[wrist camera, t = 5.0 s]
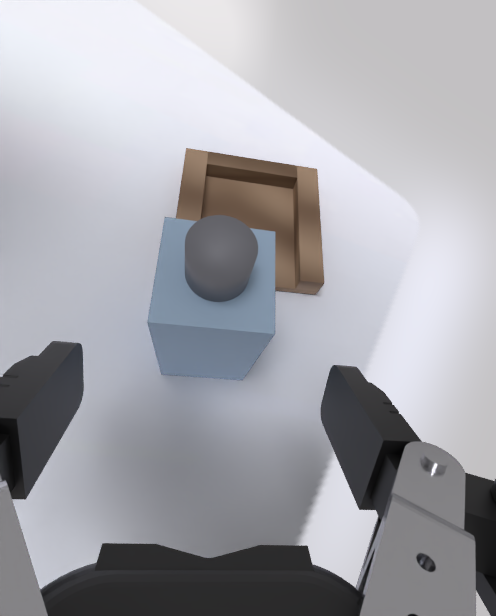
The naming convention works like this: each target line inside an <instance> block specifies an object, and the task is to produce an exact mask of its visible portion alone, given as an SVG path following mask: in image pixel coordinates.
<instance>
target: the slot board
mask: <svg viewBox="0 0 496 616" xmlns="http://www.w3.org/2000/svg"><path fill="white" fill-rule="evenodd" d="M213 215H225V216H230V217H233V218H236V219H238V220H240V221H242V222H243V223H244V224H246V225H247V226H248V227H249V228H252V229H259V230H267V231H275V290H277V291H286V292H295V293H304V294H314V295H315V294H316V293H317V292H318V291H319V289H320V288H321V287H322V286H323V284H324V273H323V257H322V240H321V224H320V207H319V191H318V175H317V169H314V168H308V167H301V166H295V165H289V164H282V163H276V162H270V161H264V160H257V159H251V158H245V157H239V156H232V155H226V154H220V153H213V152H207V151H201V150H195V149H188V148H186V154H185V160H184V167H183V174H182V181H181V187H180V194H179V201H178V207H177V214H176V219H184V220H191V221H198V220H200V219H202V218H205V217H208V216H213Z"/></svg>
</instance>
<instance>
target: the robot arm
mask: <svg viewBox="0 0 496 616" xmlns="http://www.w3.org/2000/svg"><path fill="white" fill-rule="evenodd" d="M83 388H84V384H83V350H82V345H81V344H80V343H72V342H60V341H53V342H51V343H50V344H49V345H48V346H47V347H46V348H45V349H44V351H43V352H42V353H41V354H40V355H39V356H29V357H27V358H25V359H23V360H21V361H19V362H17V363H15V364H14V365H13V366H12V367H11V368H10V369H9V370H7V371H6V372H5V373H4V374H3V377H0V616H476V590H477V592H478V594H479V596H480V598H481V599H482V601H483V603H484V605H485V606H486V608H487V610H488V611H489V613H490V615H491V616H496V479H495V481H492V480H488V479H485V478H481V477H478V476H474V475H471V474H468V473H465V471H464V469H463V467H462V466H461V464H460V463H459V462H458V461H457V460H456V459H455V458H454V457H453V456H452V455H450V454H449V453H448V452H446V451H444V450H443V449H441V448H439V447H437V446H435V445H432V444H429V443H425V442H422V441H421V440H420V439H419V437H418V436H417V435H416V434H415V432H414V431H413V430H412V428H411V427H410V426H409V424H408V423H407V422H406V421H405V419H404V418H403V417H402V415H401V414H399V411H398V410H397V409H396V408H395V406H394V405H392V402H391V401H390V400H389V398H388V397H387V396H386V394H385V393H384V392H383V391H381V390H380V389H379V388H377V387H376V386H375V385H373V384H372V383H368V382H367V380H366V379H365V378H364V376H363V375H362V373H361V372H360V371H359V369H358V368H357V367H352V366H340V365H334V366H332V368H331V370H330V373H329V377H328V380H327V384H326V388H325V392H324V396H323V400H322V404H321V420H322V423H323V426H324V428H325V430H326V433H327V435H328V437H329V440H330V442H331V445H332V447H333V449H334V452H335V454H336V456H337V459H338V461H339V463H340V466H341V468H342V470H343V473H344V475H345V477H346V480H347V482H348V484H349V487H350V489H351V491H352V494H353V496H354V498H355V501H356V503H357V505H358V508H359V509H360V510H376V511H377V514H378V519H377V522H376V524H375V527H374V531H373V534H372V537H371V540H370V543H369V547H368V550H367V553H366V556H365V560H364V563H363V566H362V570H361V573H360V576H359V579H358V582H357V585H356V588H355V587H354V586H352V585H351V584H350V583H348V582H347V581H345V580H343V579H342V578H341V577H339V576H337V575H336V574H334V573H332V572H330V571H328V570H326V569H323V568H321V567H318V566H316V565H312V562H311V558H310V554H309V550H308V546H283V545H259V546H255V547H252V548H248V549H244V550H240V551H237V552H233V553H229V554H226V555H222V556H218V557H214V558H204V557H200V556H196V555H193V554H189V553H186V552H182V551H179V550H175V549H172V548H168V547H165V546H161V545H158V544H109V543H103V544H102V547H101V550H100V554H99V557H98V560H97V563H94V564H90V565H87V566H84V567H82V568H79V569H76V570H74V571H72V572H69V573H67V574H65V575H63V576H61V577H59V578H58V579H56V580H54V581H53V582H51V583H50V584H48V585H46V586H45V587H43V588H42V589H41V590H40V588H39V585H38V582H37V579H36V576H35V572H34V569H33V566H32V563H31V559H30V556H29V553H28V550H27V546H26V543H25V540H24V537H23V533H22V530H21V527H20V524H19V520H18V517H17V514H16V511H15V508H14V504H13V501H12V499H26V498H27V496H28V494H29V493H30V491H31V489H32V488H33V486H34V484H35V482H36V481H37V479H38V477H39V475H40V474H41V472H42V470H43V469H44V467H45V465H46V463H47V462H48V460H49V458H50V456H51V455H52V453H53V451H54V450H55V448H56V446H57V444H58V443H59V441H60V439H61V437H62V436H63V434H64V432H65V431H66V429H67V427H68V425H69V424H70V422H71V420H72V418H73V417H74V415H75V413H76V412H77V410H78V408H79V406H80V403H81V400H82V396H83Z"/></svg>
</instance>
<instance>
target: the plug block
mask: <svg viewBox="0 0 496 616" xmlns="http://www.w3.org/2000/svg"><path fill="white" fill-rule="evenodd" d="M148 326H149V330H150V333H151V337H152V341H153V345H154V348H155V352H156V356H157V360H158V363H159V367H160V371H161V374H163V375H177V376H191V377H205V378H219V379H233V380H243V378H244V377H245V375H246V374H247V373H248V371H249V370H250V368H251V367H252V366H253V364H254V363H255V361H256V360H257V359H258V357H259V356H260V354H261V353H262V351H263V350H264V349H265V347H266V346H267V344H268V343H269V342H270V340H271V339H272V337H273V336H274V334H275V231H267V230H259V229H252V228H249V227H248V226H247V225H246V224H244V223H243V222H242V221H240V220H238V219H236V218H233V217H230V216H225V215H213V216H208V217H205V218H202V219H200V220H198V221H191V220H184V219H176V218H169V217H165V219H164V225H163V232H162V238H161V244H160V250H159V256H158V262H157V268H156V274H155V280H154V286H153V292H152V298H151V304H150V310H149V316H148Z"/></svg>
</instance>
